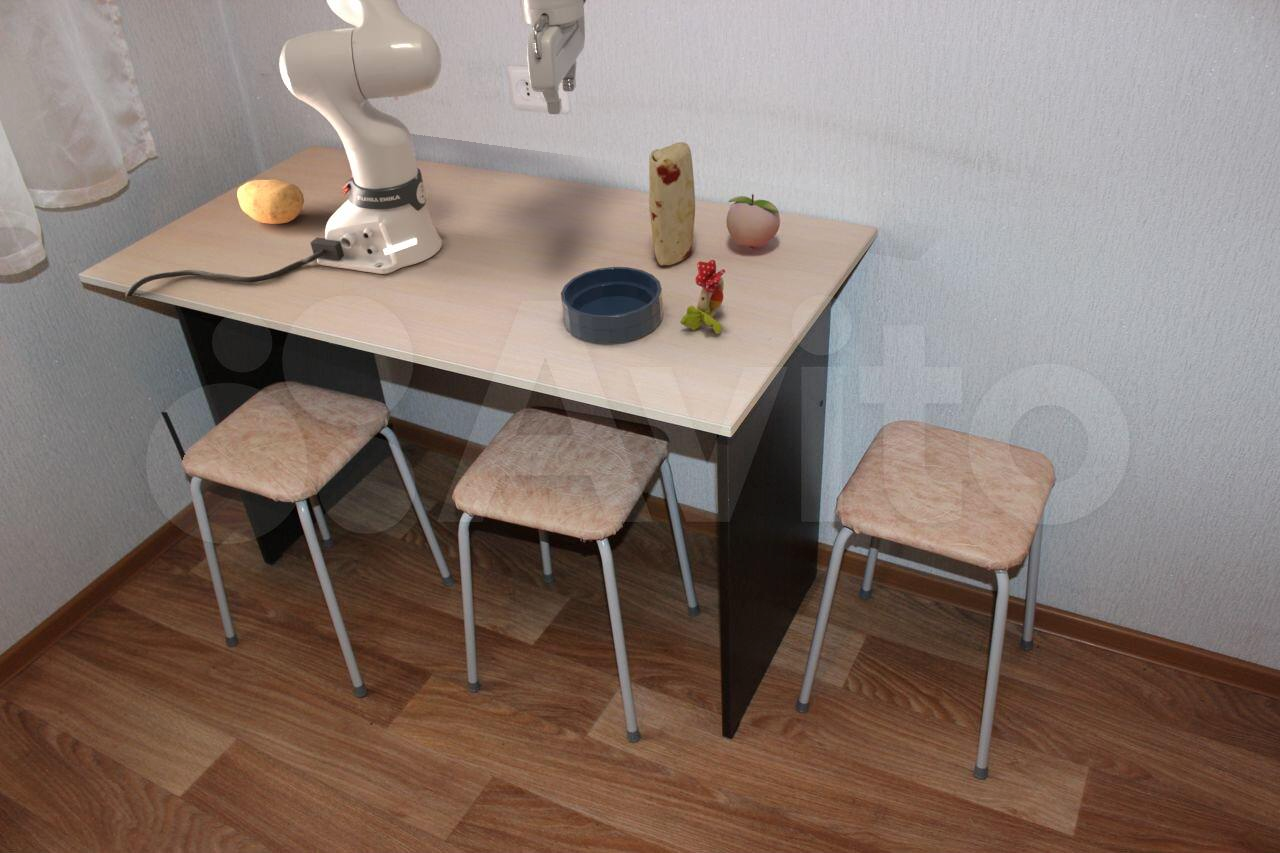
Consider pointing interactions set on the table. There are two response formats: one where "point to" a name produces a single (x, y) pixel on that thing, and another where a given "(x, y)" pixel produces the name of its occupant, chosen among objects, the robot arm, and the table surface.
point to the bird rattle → (706, 297)
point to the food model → (672, 202)
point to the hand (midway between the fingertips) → (562, 100)
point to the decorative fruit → (752, 221)
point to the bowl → (612, 304)
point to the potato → (270, 201)
